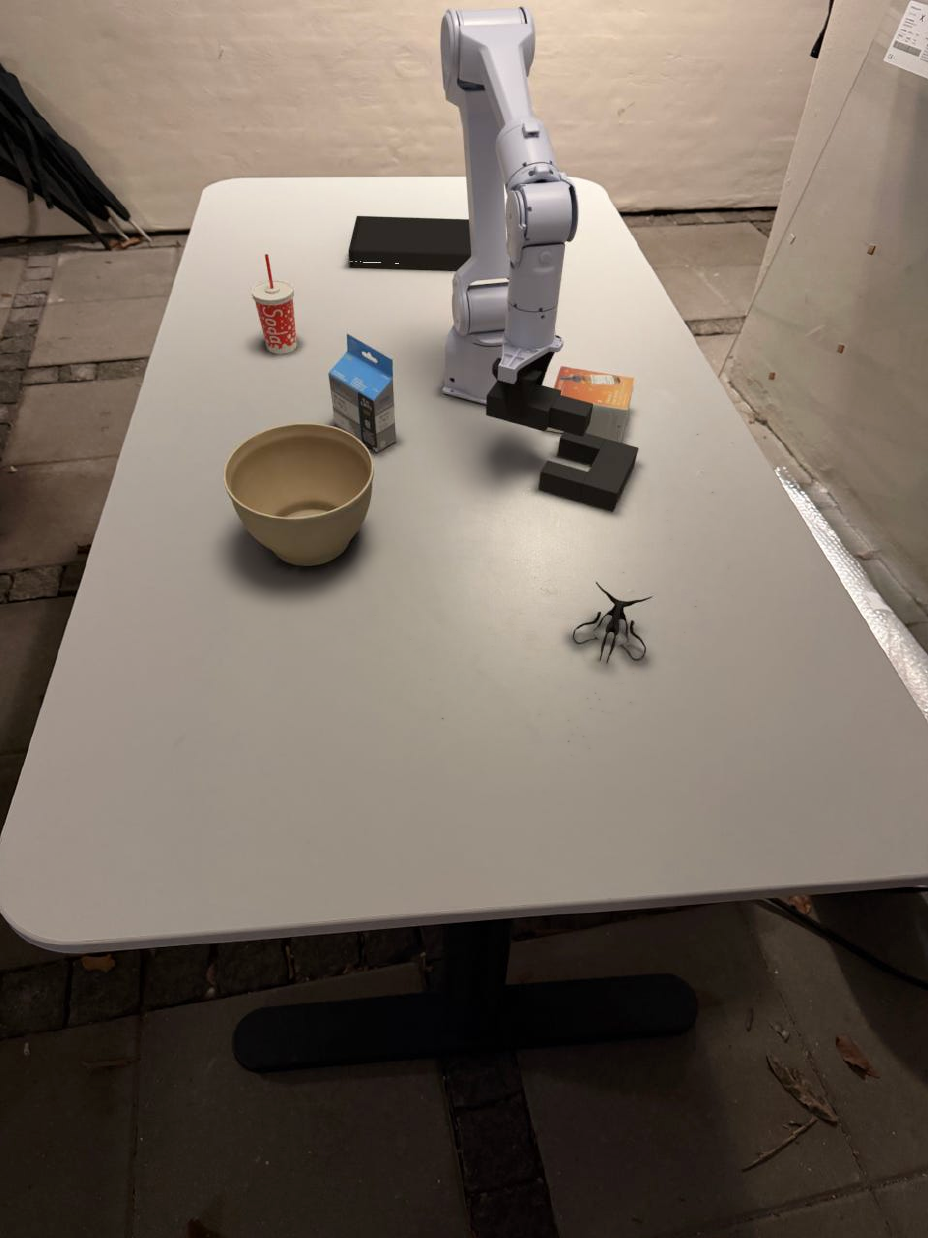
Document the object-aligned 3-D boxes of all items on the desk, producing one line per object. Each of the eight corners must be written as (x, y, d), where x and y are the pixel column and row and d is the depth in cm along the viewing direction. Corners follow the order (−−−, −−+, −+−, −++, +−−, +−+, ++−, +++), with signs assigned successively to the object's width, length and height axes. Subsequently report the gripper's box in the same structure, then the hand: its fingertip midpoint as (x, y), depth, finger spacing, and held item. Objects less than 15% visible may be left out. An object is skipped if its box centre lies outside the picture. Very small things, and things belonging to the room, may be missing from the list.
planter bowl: (268, 607, 85) (249, 536, 77) (225, 517, 94) (205, 445, 86) (401, 561, 90) (397, 489, 82) (349, 480, 99) (340, 408, 91)
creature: (638, 679, 81) (654, 616, 85) (646, 658, 77) (663, 591, 80) (565, 659, 83) (584, 597, 86) (569, 636, 78) (589, 572, 82)
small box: (629, 410, 101) (550, 396, 103) (621, 444, 106) (545, 431, 107) (635, 376, 106) (560, 364, 108) (627, 411, 111) (555, 398, 112)
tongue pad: (485, 415, 97) (486, 394, 95) (500, 394, 100) (501, 374, 98) (580, 441, 94) (583, 421, 92) (592, 419, 97) (596, 398, 95)
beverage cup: (254, 351, 118) (235, 259, 108) (275, 331, 122) (259, 241, 111) (289, 360, 117) (274, 268, 106) (309, 340, 121) (296, 249, 110)
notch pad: (538, 489, 99) (540, 471, 97) (563, 445, 105) (565, 427, 103) (613, 511, 97) (617, 493, 94) (634, 465, 103) (638, 447, 100)
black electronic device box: (358, 231, 145) (356, 214, 143) (481, 235, 146) (481, 218, 143) (349, 267, 136) (348, 250, 134) (481, 271, 136) (481, 254, 134)
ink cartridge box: (332, 425, 107) (322, 343, 97) (354, 413, 109) (345, 332, 99) (377, 453, 103) (370, 371, 93) (398, 441, 105) (394, 359, 95)
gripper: (544, 338, 81) (532, 444, 91) (586, 278, 90) (571, 381, 100) (482, 323, 83) (477, 428, 93) (529, 265, 91) (520, 368, 102)
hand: (522, 403), depth 97 cm, fingers closed on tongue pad, 5 cm apart
